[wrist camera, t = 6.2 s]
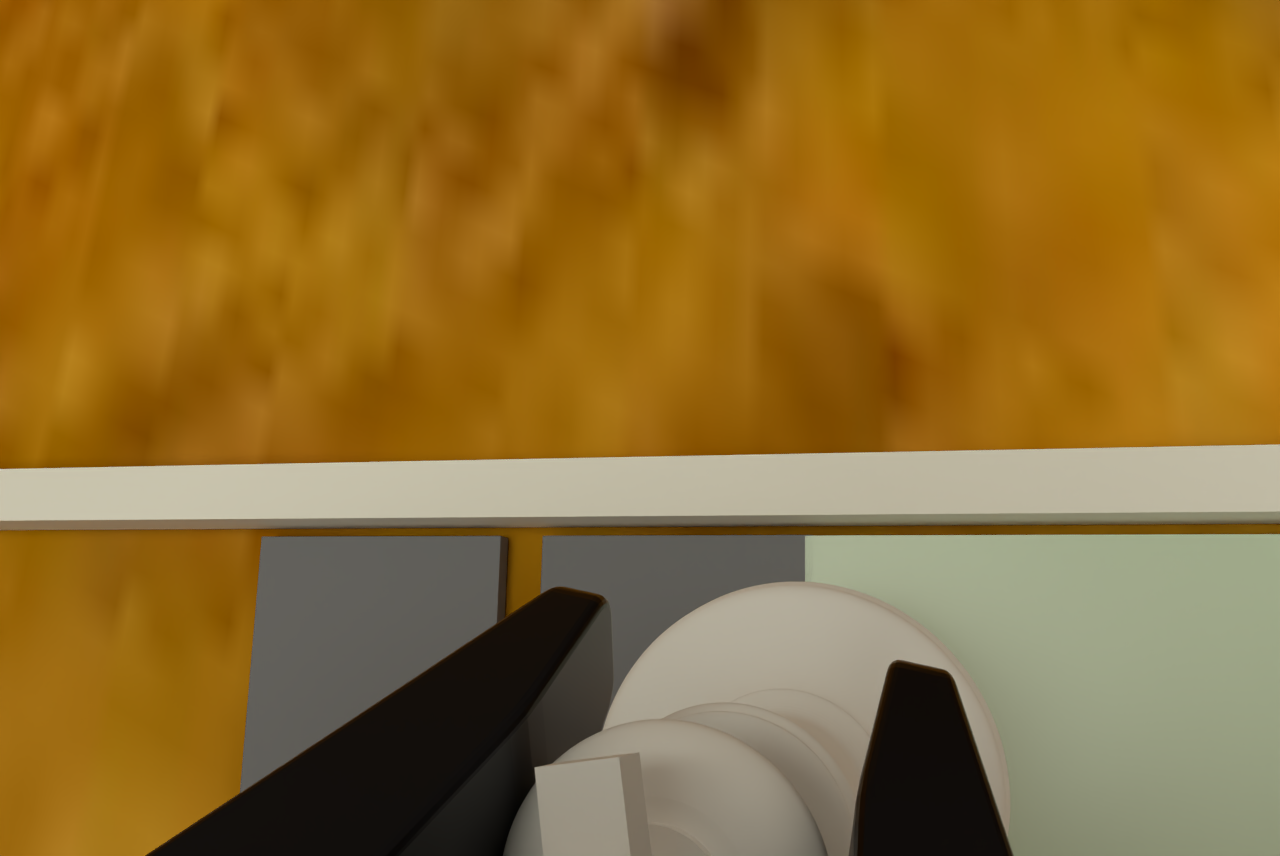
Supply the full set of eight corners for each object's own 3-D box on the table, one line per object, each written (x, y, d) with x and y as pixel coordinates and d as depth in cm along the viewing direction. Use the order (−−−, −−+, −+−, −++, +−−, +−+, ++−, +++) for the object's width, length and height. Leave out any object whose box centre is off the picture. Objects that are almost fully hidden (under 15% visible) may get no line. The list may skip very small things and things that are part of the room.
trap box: (-219, 1039, 24) (-292, 1062, 22) (-134, 484, 26) (-197, 472, 24) (1538, 1249, 17) (1594, 1303, 15) (1451, 458, 19) (1493, 440, 17)
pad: (809, 1079, 19) (806, 1087, 19) (807, 538, 21) (804, 536, 20) (1404, 1141, 17) (1414, 1152, 17) (1347, 536, 19) (1356, 533, 18)
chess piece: (966, 554, 15) (1039, 319, 5) (1048, 986, 14) (1330, 1696, 4) (580, 612, 16) (46, 500, 6) (626, 1019, 15) (58, 1657, 5)
